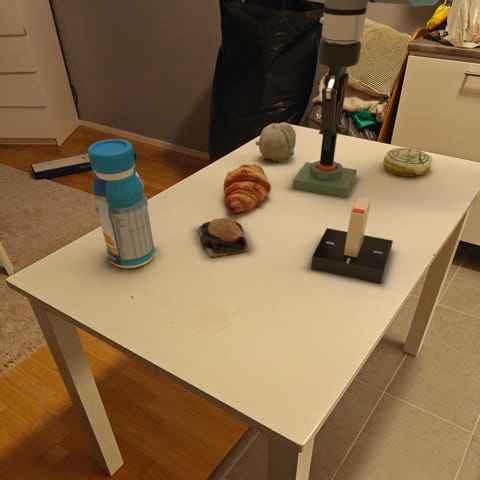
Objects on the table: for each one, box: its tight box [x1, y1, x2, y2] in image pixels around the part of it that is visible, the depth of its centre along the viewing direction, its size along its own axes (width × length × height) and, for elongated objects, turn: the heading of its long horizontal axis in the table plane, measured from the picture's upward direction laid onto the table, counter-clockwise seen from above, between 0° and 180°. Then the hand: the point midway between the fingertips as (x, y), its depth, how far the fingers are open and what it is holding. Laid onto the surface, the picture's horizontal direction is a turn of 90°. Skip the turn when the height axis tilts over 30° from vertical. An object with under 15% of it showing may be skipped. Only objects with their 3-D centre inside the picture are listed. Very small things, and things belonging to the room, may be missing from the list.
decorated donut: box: [383, 147, 433, 177], centre depth 108 cm, size 10×11×4 cm
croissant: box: [222, 163, 272, 214], centre depth 98 cm, size 21×10×8 cm, turn 166°
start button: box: [317, 162, 336, 171], centre depth 102 cm, size 4×4×2 cm
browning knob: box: [344, 197, 372, 257], centre depth 77 cm, size 6×2×8 cm, turn 158°
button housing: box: [292, 160, 358, 198], centre depth 103 cm, size 12×10×4 cm
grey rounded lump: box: [254, 122, 297, 163], centre depth 111 cm, size 9×8×10 cm
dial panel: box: [310, 227, 394, 284], centre depth 80 cm, size 12×10×3 cm
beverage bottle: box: [87, 138, 156, 269], centre depth 76 cm, size 8×8×20 cm
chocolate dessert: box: [198, 217, 250, 258], centre depth 86 cm, size 11×8×4 cm
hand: (326, 163), depth 101 cm, fingers closed
